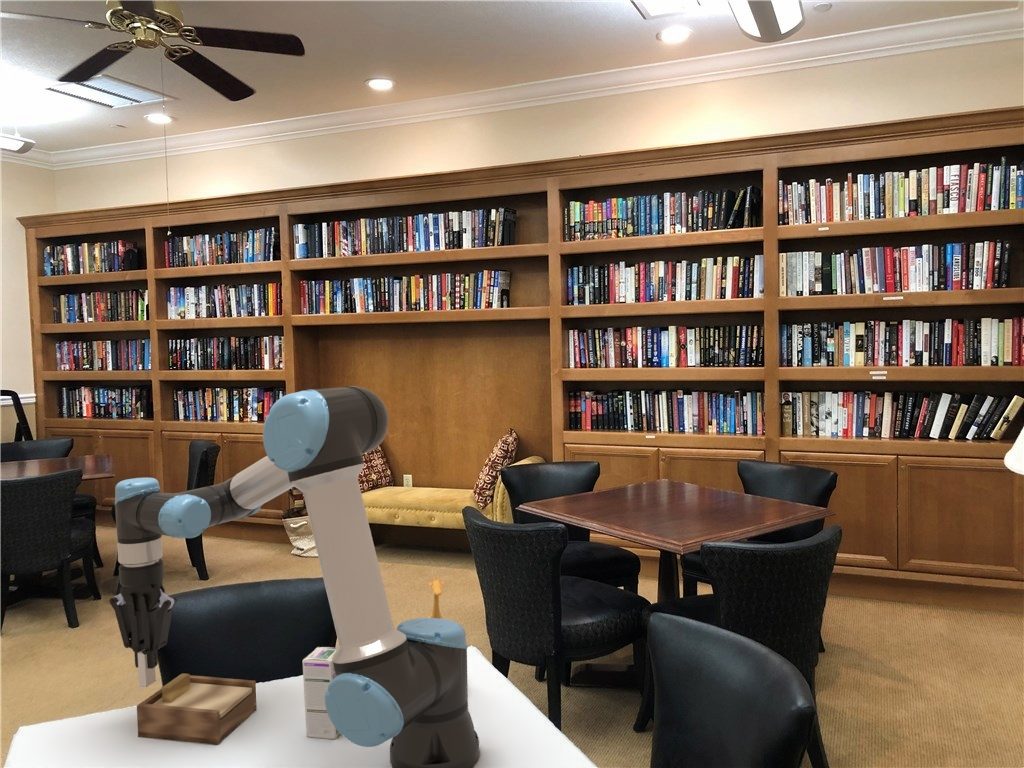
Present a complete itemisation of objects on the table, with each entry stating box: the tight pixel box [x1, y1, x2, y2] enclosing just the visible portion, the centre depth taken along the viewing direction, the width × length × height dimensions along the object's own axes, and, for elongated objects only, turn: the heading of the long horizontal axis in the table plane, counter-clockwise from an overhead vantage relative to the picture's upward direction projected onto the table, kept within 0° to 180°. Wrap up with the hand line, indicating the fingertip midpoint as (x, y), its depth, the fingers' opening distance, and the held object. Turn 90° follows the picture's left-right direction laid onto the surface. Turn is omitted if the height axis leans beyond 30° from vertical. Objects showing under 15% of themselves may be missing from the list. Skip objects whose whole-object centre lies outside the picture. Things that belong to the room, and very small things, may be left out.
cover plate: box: [153, 673, 252, 718], centre depth 145 cm, size 15×10×4 cm
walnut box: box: [136, 675, 258, 746], centre depth 145 cm, size 16×13×6 cm
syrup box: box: [302, 646, 341, 740], centre depth 141 cm, size 6×6×14 cm
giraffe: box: [427, 576, 445, 619], centre depth 155 cm, size 16×4×25 cm, turn 10°
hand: (147, 683), depth 147 cm, fingers closed
